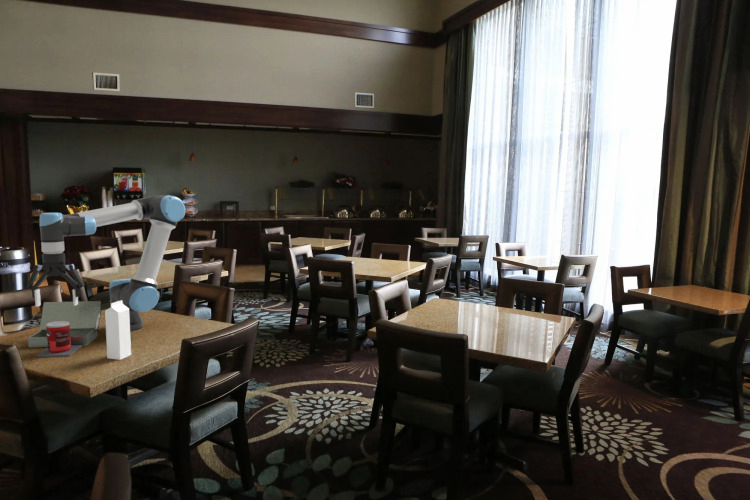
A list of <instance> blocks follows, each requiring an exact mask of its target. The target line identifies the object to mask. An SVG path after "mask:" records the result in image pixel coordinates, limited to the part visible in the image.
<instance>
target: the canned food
mask: <svg viewBox="0 0 750 500" xmlns="http://www.w3.org/2000/svg"><path fill="white" fill-rule="evenodd" d="M46 330H47V343H48V347H47V348H48V351H49V352H50V353H61V352H66V351H68V350H70V348H71V340H70V324H69V322H68V321H56V322H51V323H48V324H47V325H46Z"/></svg>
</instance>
